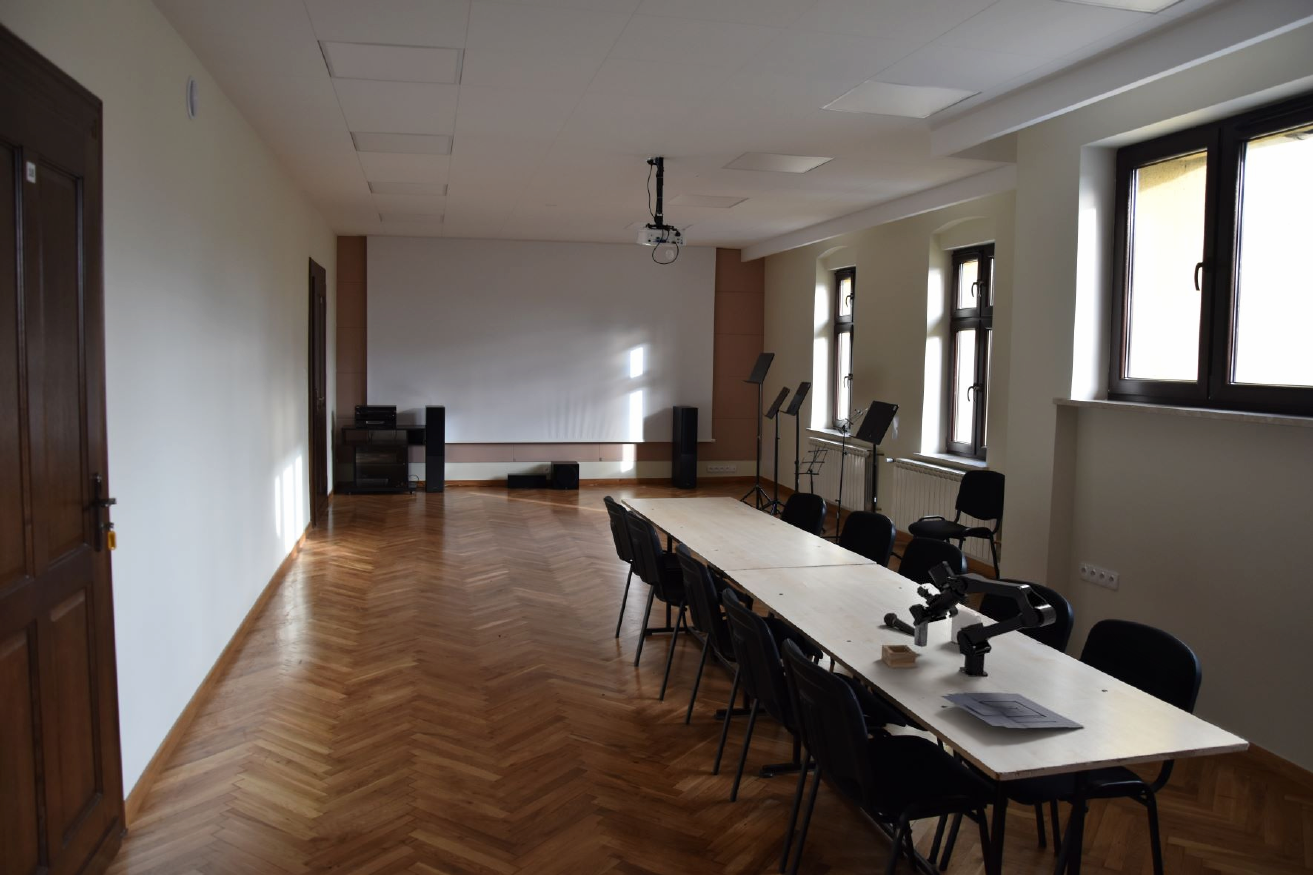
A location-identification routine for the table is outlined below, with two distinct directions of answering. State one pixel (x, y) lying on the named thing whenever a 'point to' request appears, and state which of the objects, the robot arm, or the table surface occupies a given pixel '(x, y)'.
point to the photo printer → (963, 621)
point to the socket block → (898, 656)
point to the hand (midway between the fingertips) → (918, 623)
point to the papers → (1009, 710)
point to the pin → (921, 635)
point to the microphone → (898, 623)
